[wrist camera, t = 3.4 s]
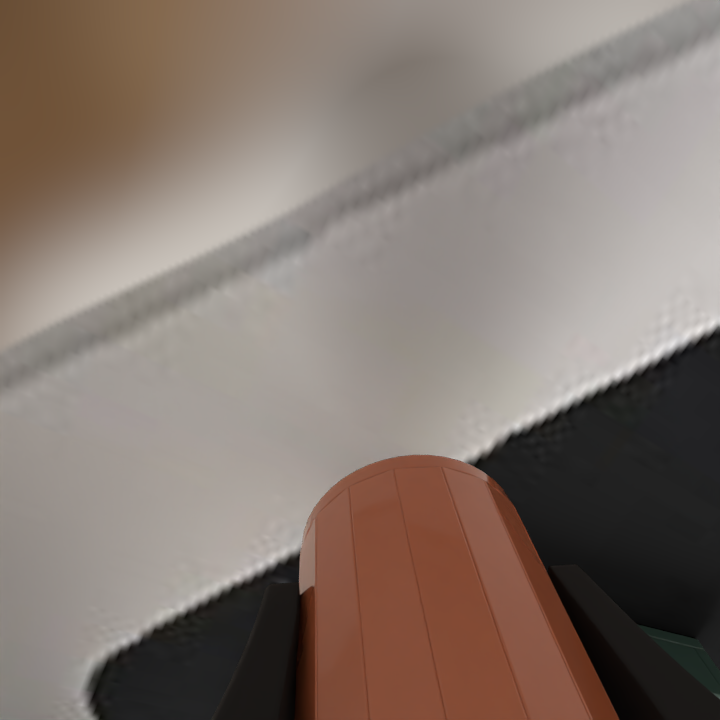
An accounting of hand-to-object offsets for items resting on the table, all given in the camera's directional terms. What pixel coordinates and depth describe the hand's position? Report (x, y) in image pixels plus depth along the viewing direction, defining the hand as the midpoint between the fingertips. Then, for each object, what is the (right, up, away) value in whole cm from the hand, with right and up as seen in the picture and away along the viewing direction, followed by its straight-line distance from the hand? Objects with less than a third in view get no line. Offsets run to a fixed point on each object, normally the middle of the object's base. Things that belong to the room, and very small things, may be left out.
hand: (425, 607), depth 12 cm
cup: (0, +1, +2) cm, 2 cm away
